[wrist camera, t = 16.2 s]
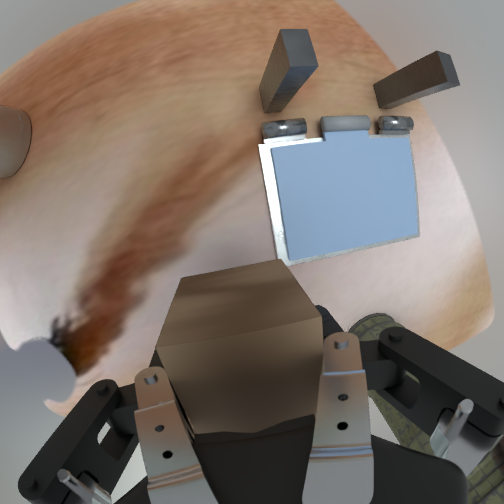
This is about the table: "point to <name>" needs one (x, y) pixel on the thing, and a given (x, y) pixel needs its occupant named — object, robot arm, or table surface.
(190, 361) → the block
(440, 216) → the table surface
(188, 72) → the table surface
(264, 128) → the base leaf
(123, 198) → the table surface
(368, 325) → the thermos
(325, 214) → the pale blue flat slab
